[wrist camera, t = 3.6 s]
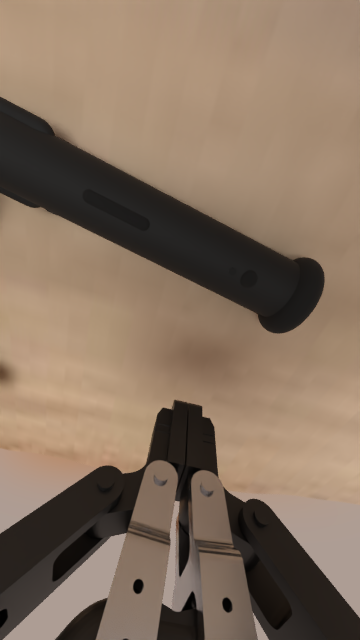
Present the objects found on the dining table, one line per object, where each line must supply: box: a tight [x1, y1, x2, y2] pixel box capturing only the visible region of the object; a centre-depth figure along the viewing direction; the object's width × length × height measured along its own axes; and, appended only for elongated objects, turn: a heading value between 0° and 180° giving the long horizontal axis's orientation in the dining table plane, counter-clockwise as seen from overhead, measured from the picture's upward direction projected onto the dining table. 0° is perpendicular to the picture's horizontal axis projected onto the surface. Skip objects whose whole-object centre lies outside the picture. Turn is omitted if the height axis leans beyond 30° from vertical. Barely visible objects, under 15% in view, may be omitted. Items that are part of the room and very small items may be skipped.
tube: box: [0, 97, 324, 333], centre depth 16 cm, size 25×6×6 cm, turn 65°
